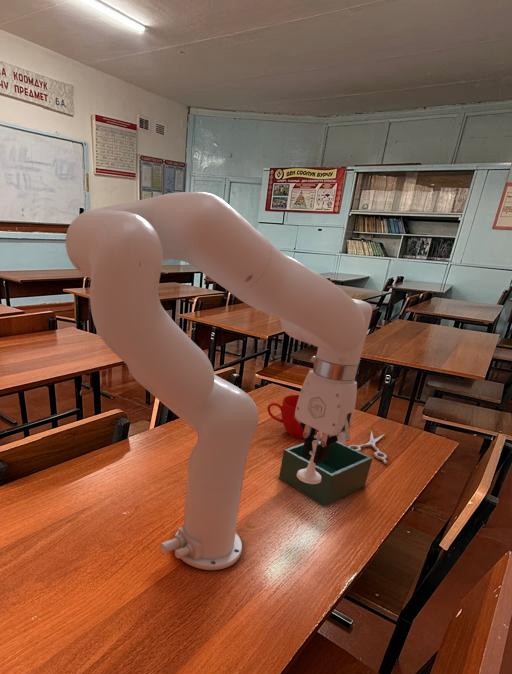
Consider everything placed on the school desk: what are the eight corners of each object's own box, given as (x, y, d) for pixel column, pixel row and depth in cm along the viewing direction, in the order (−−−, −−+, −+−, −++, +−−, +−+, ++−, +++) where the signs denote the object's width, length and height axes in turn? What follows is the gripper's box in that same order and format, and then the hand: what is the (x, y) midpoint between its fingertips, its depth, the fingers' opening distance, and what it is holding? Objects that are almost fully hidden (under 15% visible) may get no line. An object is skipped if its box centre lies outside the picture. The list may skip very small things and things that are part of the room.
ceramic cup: (264, 421, 135) (268, 391, 131) (319, 428, 134) (325, 397, 130) (264, 439, 124) (269, 406, 120) (324, 447, 122) (331, 414, 118)
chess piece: (321, 486, 86) (333, 440, 82) (296, 481, 86) (307, 436, 82) (320, 474, 90) (331, 430, 86) (296, 469, 91) (306, 426, 87)
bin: (324, 506, 96) (332, 476, 92) (278, 478, 105) (283, 449, 102) (364, 486, 105) (372, 458, 101) (319, 461, 114) (325, 435, 111)
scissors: (346, 450, 120) (360, 425, 136) (345, 452, 120) (360, 428, 136) (386, 462, 115) (397, 435, 131) (386, 464, 115) (396, 437, 131)
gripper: (287, 359, 82) (271, 446, 90) (361, 385, 71) (335, 482, 79) (312, 356, 87) (294, 439, 94) (386, 380, 76) (359, 472, 83)
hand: (313, 458), depth 86 cm, fingers closed on chess piece
